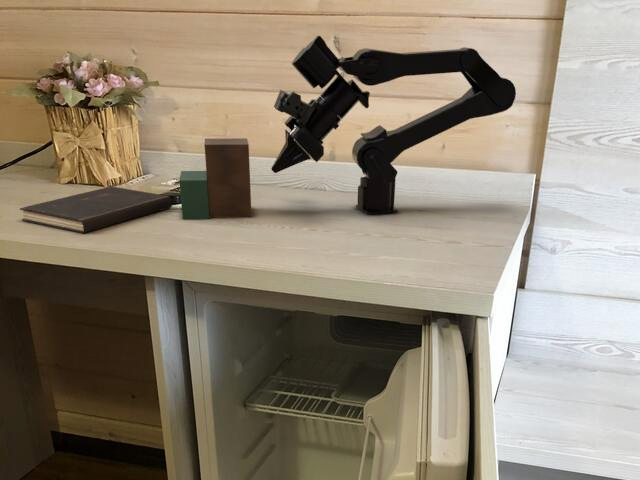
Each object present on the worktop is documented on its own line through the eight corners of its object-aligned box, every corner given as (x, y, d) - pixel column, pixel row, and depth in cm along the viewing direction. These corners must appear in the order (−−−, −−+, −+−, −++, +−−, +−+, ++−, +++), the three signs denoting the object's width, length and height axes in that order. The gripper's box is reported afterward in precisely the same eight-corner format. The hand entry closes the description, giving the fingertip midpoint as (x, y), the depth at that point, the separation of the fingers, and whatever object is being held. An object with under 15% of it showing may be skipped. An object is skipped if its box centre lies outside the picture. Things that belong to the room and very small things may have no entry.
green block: (209, 207, 147) (207, 170, 143) (209, 218, 139) (206, 180, 136) (184, 207, 146) (181, 170, 143) (182, 219, 139) (179, 180, 135)
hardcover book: (22, 220, 135) (19, 208, 134) (112, 197, 152) (111, 186, 151) (84, 234, 128) (82, 220, 127) (172, 208, 146) (171, 196, 144)
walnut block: (250, 208, 147) (247, 138, 140) (251, 216, 141) (248, 144, 134) (209, 208, 146) (204, 138, 139) (209, 217, 140) (204, 144, 133)
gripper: (294, 69, 141) (240, 131, 145) (305, 78, 125) (243, 147, 129) (335, 114, 146) (280, 173, 150) (349, 127, 130) (288, 193, 134)
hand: (273, 171), depth 141 cm, fingers closed
